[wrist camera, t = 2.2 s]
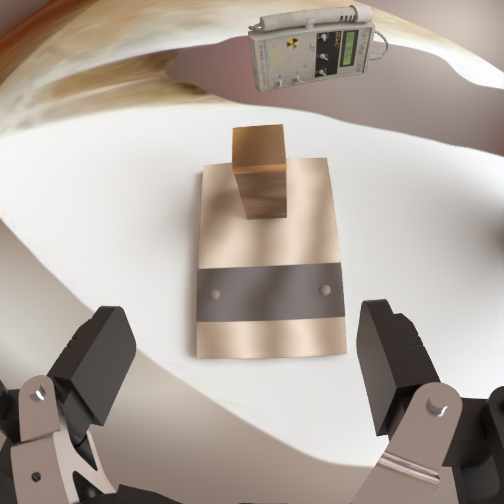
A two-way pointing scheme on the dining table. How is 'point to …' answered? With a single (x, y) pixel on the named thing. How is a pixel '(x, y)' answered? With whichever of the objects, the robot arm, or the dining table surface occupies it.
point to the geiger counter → (312, 46)
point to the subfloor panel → (270, 270)
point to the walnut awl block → (261, 170)
